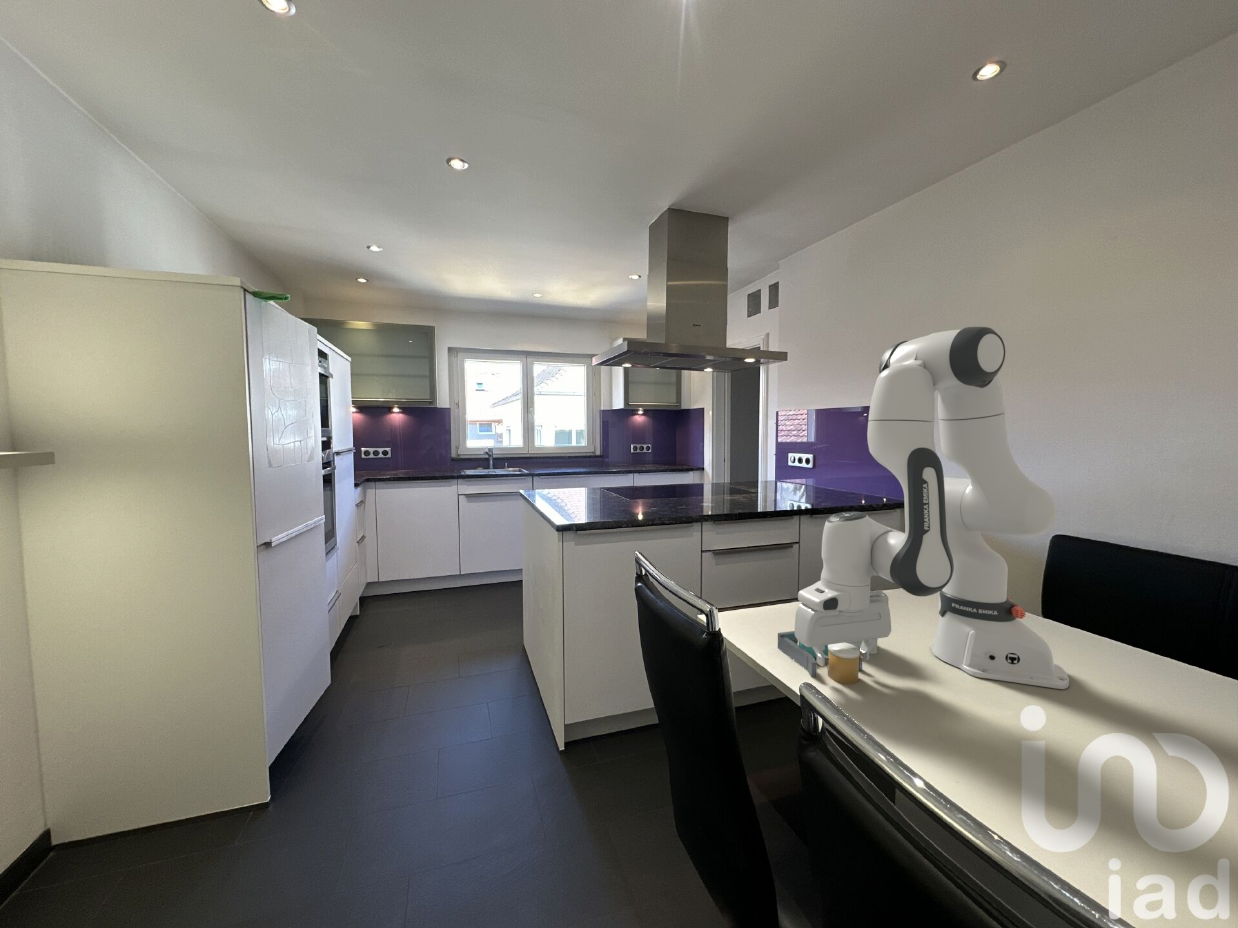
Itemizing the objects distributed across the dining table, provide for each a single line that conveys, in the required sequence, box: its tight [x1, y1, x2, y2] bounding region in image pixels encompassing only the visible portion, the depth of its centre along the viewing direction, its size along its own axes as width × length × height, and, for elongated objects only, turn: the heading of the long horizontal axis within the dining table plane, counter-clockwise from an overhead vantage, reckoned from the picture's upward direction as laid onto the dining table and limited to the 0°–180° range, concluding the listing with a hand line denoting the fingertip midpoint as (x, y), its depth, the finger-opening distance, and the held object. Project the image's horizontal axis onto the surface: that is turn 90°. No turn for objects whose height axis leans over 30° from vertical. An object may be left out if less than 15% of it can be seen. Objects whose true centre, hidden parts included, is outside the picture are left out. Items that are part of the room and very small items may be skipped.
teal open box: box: [798, 641, 828, 658], centre depth 104 cm, size 8×7×4 cm
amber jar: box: [827, 643, 860, 685], centre depth 93 cm, size 6×6×6 cm
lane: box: [777, 630, 863, 678], centre depth 101 cm, size 13×12×4 cm
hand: (842, 661), depth 93 cm, fingers open, 8 cm apart
